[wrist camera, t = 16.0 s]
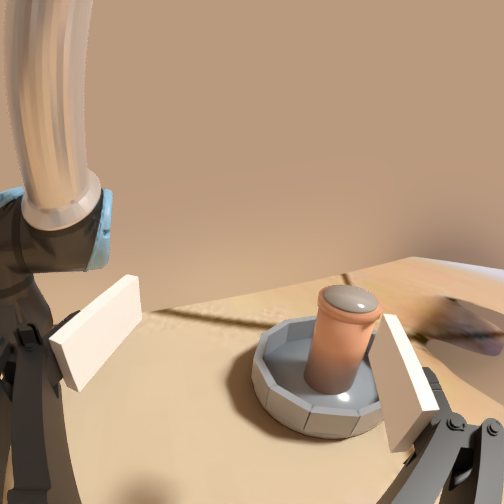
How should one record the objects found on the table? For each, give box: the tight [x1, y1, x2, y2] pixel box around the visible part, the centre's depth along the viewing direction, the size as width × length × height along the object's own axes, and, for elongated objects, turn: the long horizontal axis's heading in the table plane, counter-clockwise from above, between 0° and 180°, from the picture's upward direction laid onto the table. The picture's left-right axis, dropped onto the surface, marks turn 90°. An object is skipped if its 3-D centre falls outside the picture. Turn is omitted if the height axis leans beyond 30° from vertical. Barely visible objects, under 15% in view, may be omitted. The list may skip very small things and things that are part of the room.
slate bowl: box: [251, 316, 384, 439], centre depth 34 cm, size 20×20×4 cm
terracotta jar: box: [304, 285, 382, 395], centre depth 33 cm, size 8×8×12 cm
